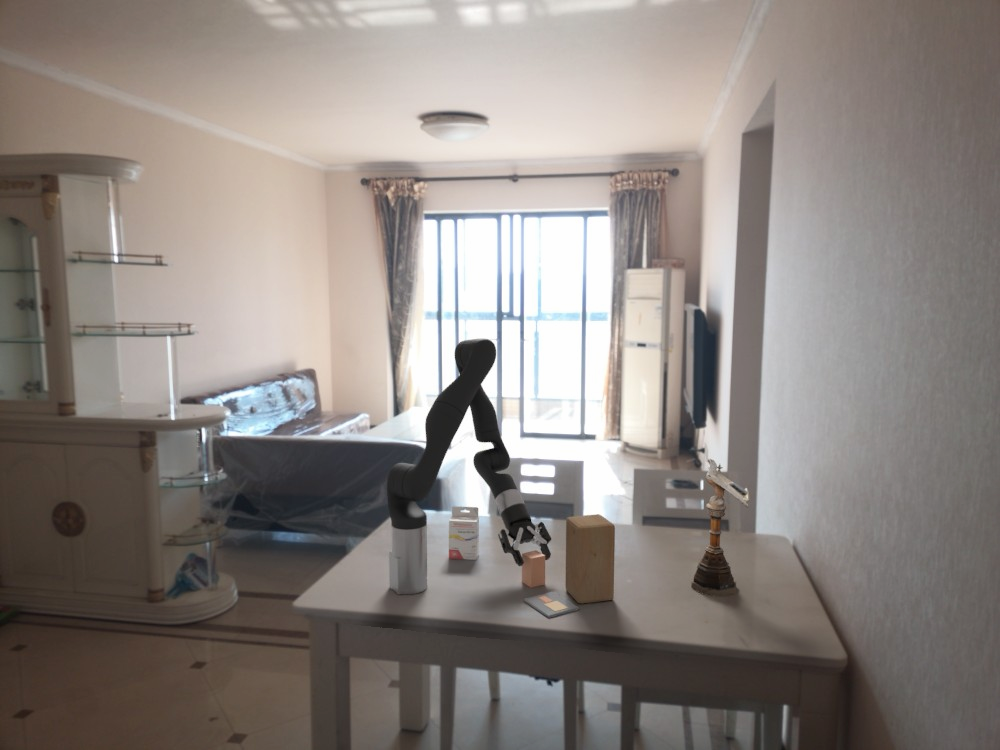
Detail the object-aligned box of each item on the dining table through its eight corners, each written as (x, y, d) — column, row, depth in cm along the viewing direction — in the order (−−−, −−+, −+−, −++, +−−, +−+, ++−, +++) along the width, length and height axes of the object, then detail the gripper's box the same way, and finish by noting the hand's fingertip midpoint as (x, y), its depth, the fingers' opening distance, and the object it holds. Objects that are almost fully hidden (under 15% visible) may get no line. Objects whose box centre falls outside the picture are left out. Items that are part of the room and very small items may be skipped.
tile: (548, 617, 167) (548, 615, 167) (523, 601, 177) (523, 598, 177) (578, 609, 172) (578, 606, 172) (553, 593, 181) (553, 591, 181)
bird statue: (756, 582, 189) (761, 455, 185) (756, 601, 177) (761, 466, 173) (693, 574, 195) (697, 450, 191) (688, 592, 182) (692, 460, 179)
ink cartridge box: (448, 559, 206) (448, 510, 204) (451, 553, 211) (450, 505, 209) (477, 560, 205) (477, 511, 204) (479, 554, 210) (479, 506, 208)
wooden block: (578, 605, 174) (579, 527, 172) (564, 589, 184) (564, 515, 182) (615, 601, 177) (616, 524, 175) (599, 585, 187) (600, 512, 184)
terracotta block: (531, 587, 185) (531, 558, 184) (521, 581, 189) (522, 553, 188) (545, 584, 188) (545, 555, 187) (535, 578, 191) (536, 550, 191)
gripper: (495, 506, 190) (517, 560, 181) (539, 498, 197) (562, 550, 188) (485, 520, 195) (507, 573, 186) (528, 512, 202) (551, 563, 194)
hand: (535, 561), depth 187 cm, fingers open, 8 cm apart
